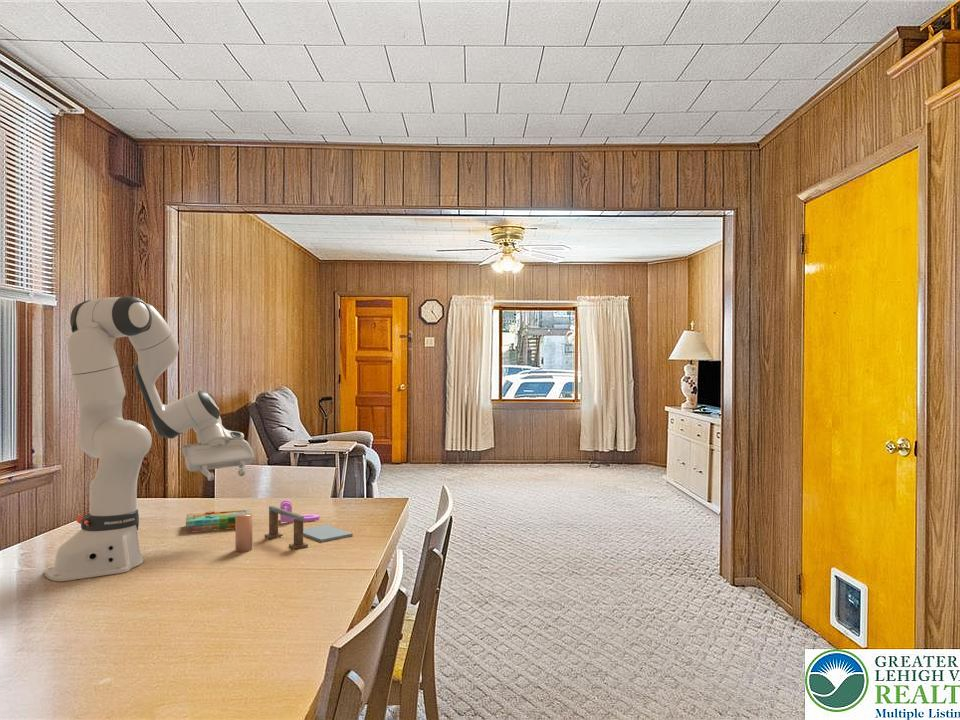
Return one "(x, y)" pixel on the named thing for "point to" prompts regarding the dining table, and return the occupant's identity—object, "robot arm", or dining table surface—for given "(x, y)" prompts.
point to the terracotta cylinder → (243, 532)
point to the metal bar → (286, 513)
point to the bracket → (289, 508)
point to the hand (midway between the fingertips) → (227, 477)
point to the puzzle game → (212, 520)
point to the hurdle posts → (297, 531)
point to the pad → (325, 533)
